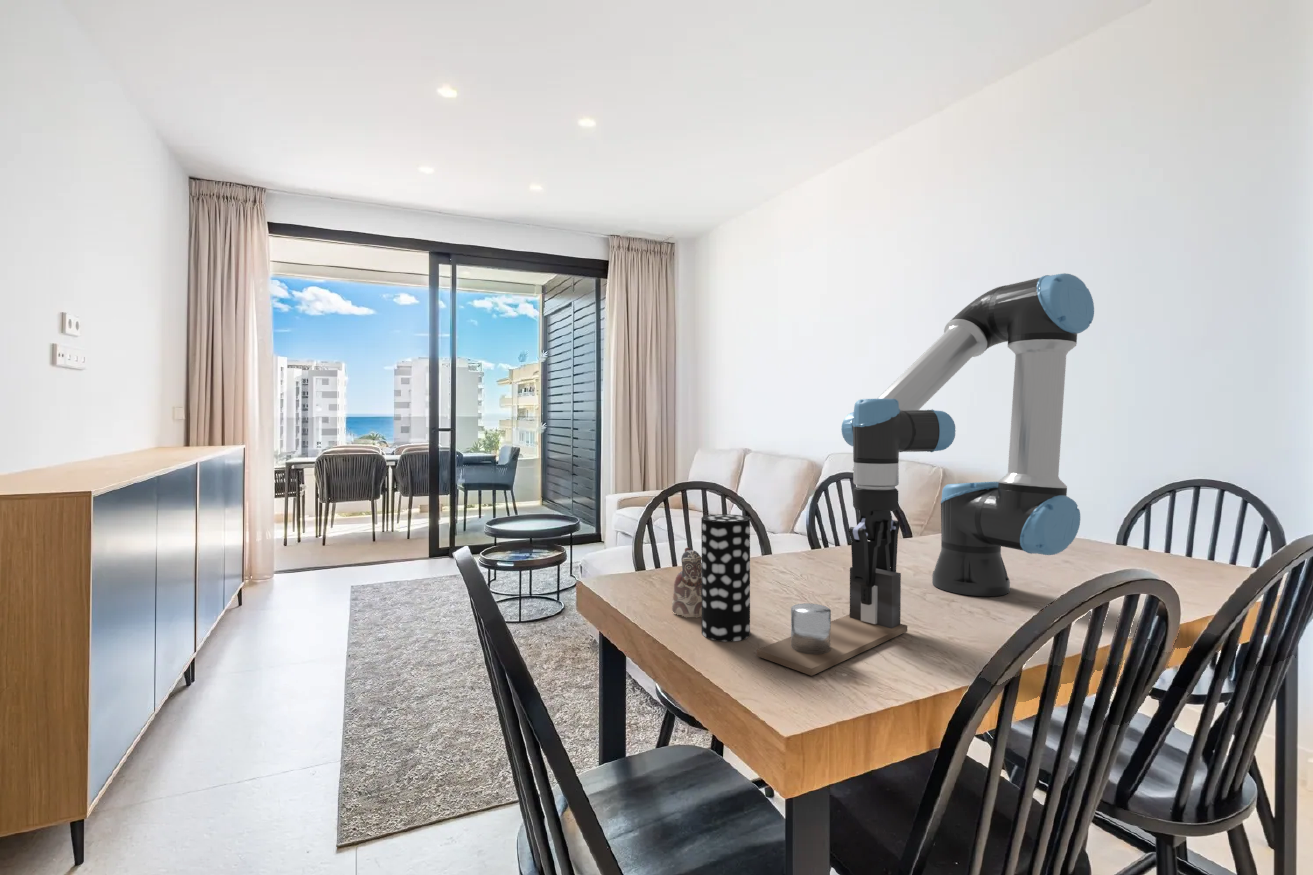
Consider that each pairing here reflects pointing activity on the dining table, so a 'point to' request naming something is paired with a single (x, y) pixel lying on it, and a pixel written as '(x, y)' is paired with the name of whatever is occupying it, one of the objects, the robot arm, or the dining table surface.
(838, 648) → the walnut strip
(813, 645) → the steel tin
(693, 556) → the figurine
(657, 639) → the dining table surface
